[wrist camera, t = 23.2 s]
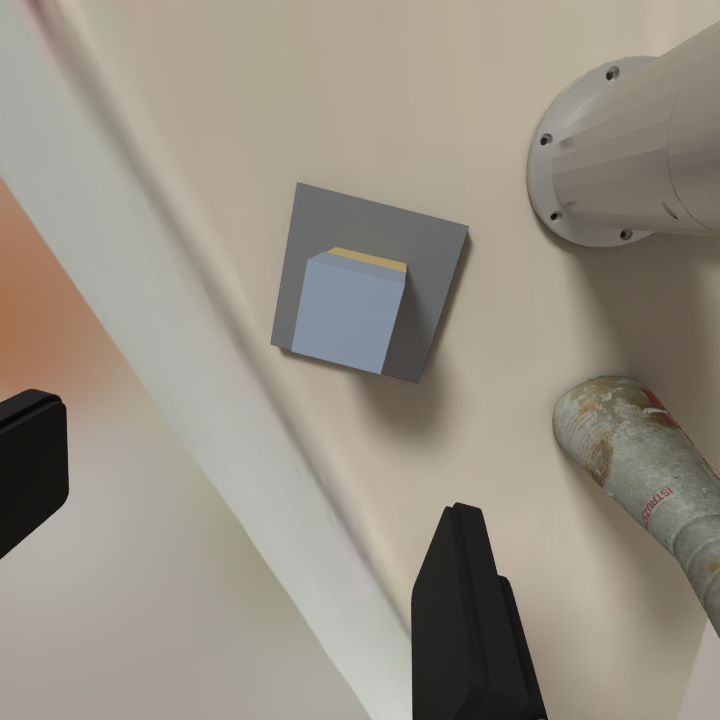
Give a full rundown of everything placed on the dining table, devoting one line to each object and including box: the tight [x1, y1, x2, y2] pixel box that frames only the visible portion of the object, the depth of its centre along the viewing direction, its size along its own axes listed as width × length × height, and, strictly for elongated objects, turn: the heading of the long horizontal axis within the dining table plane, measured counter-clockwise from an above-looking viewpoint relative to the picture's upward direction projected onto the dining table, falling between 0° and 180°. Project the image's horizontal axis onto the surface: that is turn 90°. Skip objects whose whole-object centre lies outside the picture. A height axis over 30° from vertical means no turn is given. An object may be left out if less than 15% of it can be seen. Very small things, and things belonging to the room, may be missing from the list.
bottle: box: [553, 376, 720, 638], centre depth 25 cm, size 9×9×28 cm
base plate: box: [270, 182, 469, 383], centre depth 35 cm, size 14×14×2 cm
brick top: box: [291, 252, 405, 374], centre depth 28 cm, size 6×6×5 cm
